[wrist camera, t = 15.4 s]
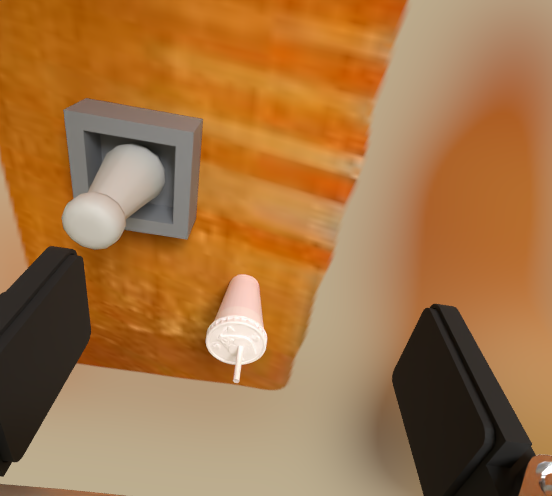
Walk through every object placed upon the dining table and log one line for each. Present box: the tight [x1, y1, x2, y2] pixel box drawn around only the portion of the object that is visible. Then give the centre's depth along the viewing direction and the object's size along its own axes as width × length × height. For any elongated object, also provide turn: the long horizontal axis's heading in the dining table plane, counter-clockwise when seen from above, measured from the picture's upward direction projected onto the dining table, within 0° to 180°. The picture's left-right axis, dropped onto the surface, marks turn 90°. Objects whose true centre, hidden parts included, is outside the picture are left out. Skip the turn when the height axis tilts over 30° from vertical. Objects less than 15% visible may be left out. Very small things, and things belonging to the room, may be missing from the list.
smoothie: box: [206, 275, 267, 383], centre depth 43 cm, size 6×6×14 cm
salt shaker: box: [62, 143, 165, 249], centre depth 34 cm, size 6×6×13 cm
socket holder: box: [64, 98, 203, 239], centre depth 38 cm, size 11×11×4 cm
